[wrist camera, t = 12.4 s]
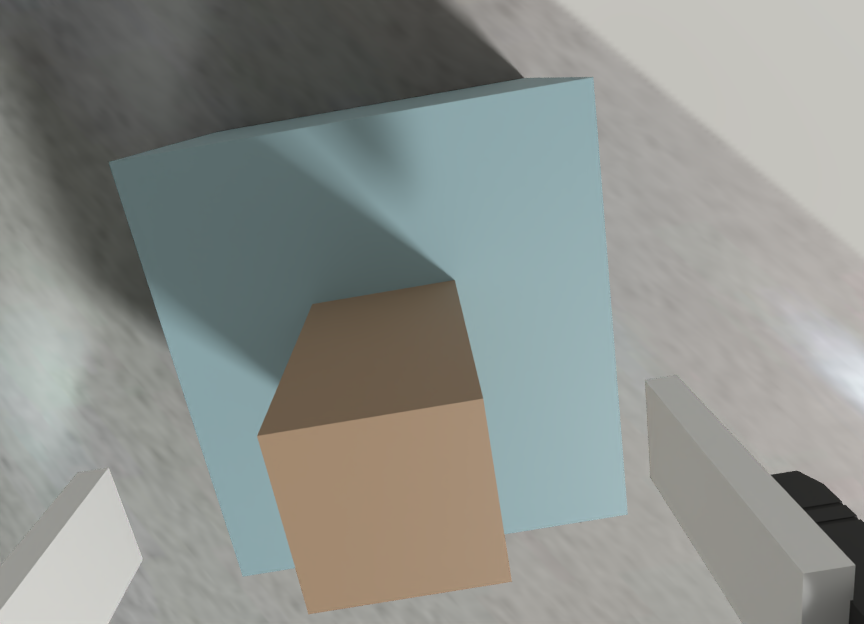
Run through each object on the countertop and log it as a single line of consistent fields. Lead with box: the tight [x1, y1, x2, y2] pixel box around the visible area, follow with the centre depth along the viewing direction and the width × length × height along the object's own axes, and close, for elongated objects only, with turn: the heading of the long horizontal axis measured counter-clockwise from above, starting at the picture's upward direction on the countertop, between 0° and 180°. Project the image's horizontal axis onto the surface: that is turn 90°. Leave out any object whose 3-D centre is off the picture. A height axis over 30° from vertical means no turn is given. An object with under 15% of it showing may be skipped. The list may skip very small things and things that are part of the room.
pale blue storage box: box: [109, 77, 628, 614], centre depth 26 cm, size 16×17×22 cm
